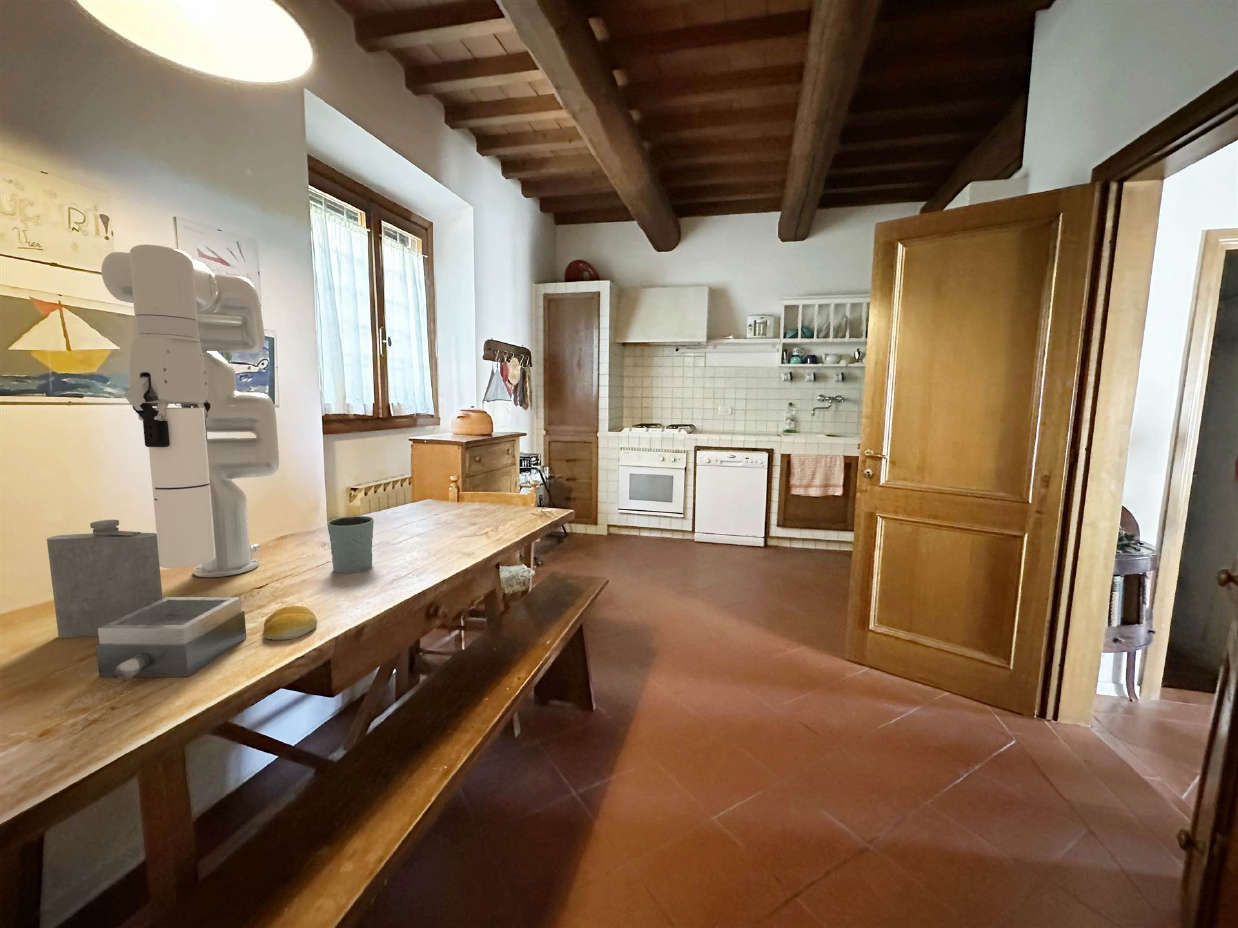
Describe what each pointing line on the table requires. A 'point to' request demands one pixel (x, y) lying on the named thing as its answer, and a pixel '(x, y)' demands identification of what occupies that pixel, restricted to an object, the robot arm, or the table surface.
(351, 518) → the green cup
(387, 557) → the table surface
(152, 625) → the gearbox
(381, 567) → the table surface
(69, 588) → the hip flask
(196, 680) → the table surface
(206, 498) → the cylindrical container
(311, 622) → the bread roll
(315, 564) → the table surface
